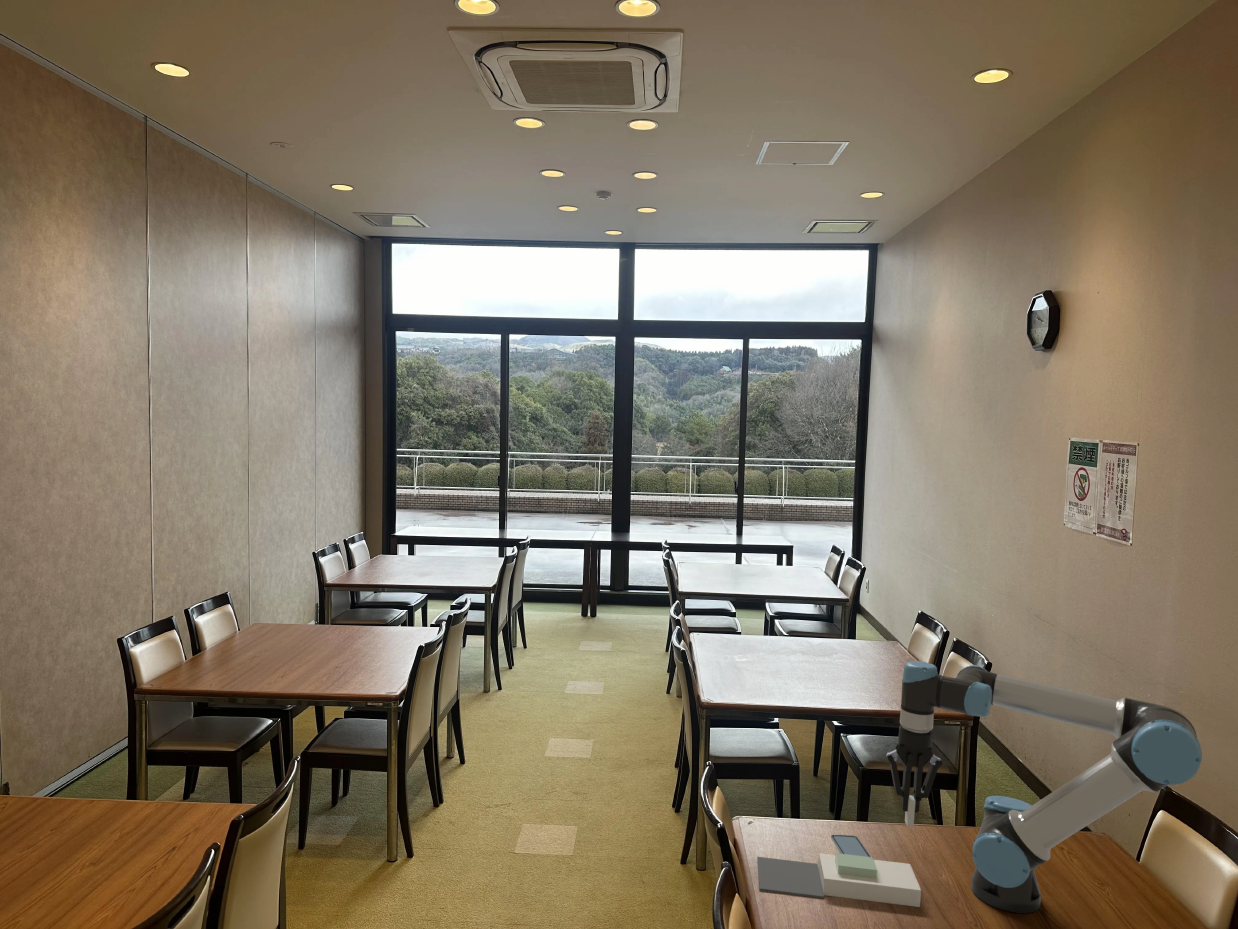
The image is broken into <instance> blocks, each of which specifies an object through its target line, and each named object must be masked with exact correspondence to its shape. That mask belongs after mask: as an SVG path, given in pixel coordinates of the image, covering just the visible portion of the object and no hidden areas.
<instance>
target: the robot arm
mask: <svg viewBox="0 0 1238 929" xmlns="http://www.w3.org/2000/svg"><path fill="white" fill-rule="evenodd" d="M902 675H903V676H902V680H901V699H900V700H901V703H900V711H899V712H900V715H899V724H900V725H899V726H898V727H899V728H898V739H897V744H896V746H895V749H894V750H893V751H886V752H885V756H886V758H887V761H888V762H889V765H890V771H891V776H892V777H891V778H892V783H893V789H894V791H895V794H896V795H897V796H901V809H902V811H903V812H904V814H905V815H904V822H905V825H906V827H908V828H914V826H915V813H919V812H920V805H921V804H920V802H921V801H922V799H928V798H929V796H930V793H931V790H932V787H933V784H934V782H935V779H936V776H937V772H938V770H939V769H940V768H941V767H942V765H943V761H942V759H941V757H940V756H937V755H935V754H934V751H933V748H932V747H933V744H932V743H933V731H932V730H933V729H934V716H935V715H934V714H935V708H938V709H943V710H947V711H950V712H951V711H952V712H954V713H955V712H957V713H961V714H965V715H968V716H971V717H981V718H986V717H988V716H989V715H990V712H991V708H992V706H996V707H1001V708H1004V709H1009V710H1013V711H1016V712H1021V713H1024V714H1029V715H1033V716H1037V717H1041V718H1044V719H1045V718H1046V719H1049V720H1052V721H1057V722H1061V723H1064V724H1065V723H1066V724H1070V725H1073V726H1078V727H1080V728H1081V727H1082V728H1085V729H1089V730H1092V731H1093V730H1094V731H1098V732H1103V733H1106V734H1109V735H1113V736H1114V738H1116V739H1115V740H1114V741H1112V742H1111V749H1110V751H1111V752H1110V754H1108V755H1106V756H1104V757H1103V758H1101V760H1099V761H1097V762H1096V763H1094V764H1093V765H1091V766H1090V767H1088V768H1086V769H1085V770H1084V771H1081V773H1079V774H1078V775H1076V776H1075V777H1073V778H1071V779H1070V780H1068V781H1066V783H1064V784H1063V785H1061V786H1060V787H1058V788H1057V789H1055V790H1053V791H1052V792H1050V793H1049V794H1048V795H1046V796H1044V797H1043V798H1042V799H1040V800H1038V801H1036V802H1035V803H1034V804H1033V805H1032V804H1030V803H1028V802H1026V801H1023V800H1020V799H1017V798H1014V797H1009V796H1003V795H990V796H988V797H986V798H985V801H984V805H983V809H984V810H983V811H984V812H983V819H982V823H981V825H980V828H979V830H978V833H977V835H976V837H975V838H974V841H973V843H972V860H973V863H974V865H975V869H974V872H973V874H972V877H971V884H970V885H971V886H970V887H971V891H972V893H973V894H974V895H975V896H976V897H977V898H978V899H979V900H981V901H982V902H984V903H986V904H987V905H990V906H991V907H994V908H997V909H999V910H1002V911H1006V912H1010V913H1017V914H1029V913H1033V912H1036V911H1038V910H1039V909H1040V908H1041V902H1042V901H1041V900H1042V896H1041V895H1042V894H1041V890H1040V887H1039V883H1038V879H1037V876H1036V872H1035V869H1037V868H1038V867H1040V866H1041V865H1043V864H1045V863H1046V862H1047V861H1049V860H1050V859H1051V850H1052V848H1054V847H1055V846H1057V845H1058V844H1060V843H1062V842H1063V841H1065V840H1067V839H1069V837H1071V836H1073V835H1075V834H1076V833H1078V832H1079V831H1081V830H1082V829H1084V828H1086V827H1087V826H1088V825H1090V824H1092V823H1094V822H1095V821H1096V820H1098V819H1100V818H1102V817H1103V816H1104V815H1106V814H1108V813H1110V812H1111V811H1112V810H1114V809H1115V808H1118V807H1119V806H1120V805H1122V804H1124V803H1125V802H1126V801H1128V800H1130V799H1131V798H1133V797H1135V796H1136V795H1138V794H1139V793H1141V792H1143V791H1145V792H1151V793H1158V792H1160V791H1161V790H1162V789H1164V788H1166V787H1167V786H1175V785H1181V784H1185V783H1187V782H1188V781H1191V779H1193V778H1194V777H1195V776H1196V775H1197V773H1198V771H1199V770H1200V768H1201V764H1202V757H1203V752H1202V747H1201V744H1200V742H1199V741H1200V740H1198V736H1197V735H1198V734H1197V732H1196V730H1195V727H1194V725H1193V724H1192V722H1191V721H1190V720H1189V719H1188V718H1187V717H1186V716H1185V715H1184V714H1183V713H1181V712H1180V711H1178V710H1176V709H1173V708H1171V707H1169V706H1165V705H1161V704H1156V703H1153V702H1152V703H1151V702H1148V701H1147V702H1145V701H1142V700H1137V699H1132V698H1128V697H1122V698H1120V699H1116V700H1115V699H1111V698H1106V697H1103V696H1099V695H1093V694H1088V693H1084V692H1079V691H1076V690H1072V689H1071V690H1070V689H1065V688H1061V687H1057V686H1053V685H1048V684H1045V683H1039V682H1035V681H1031V680H1026V679H1021V678H1017V677H1013V676H1008V675H1004V674H999V673H995V672H991V671H988V670H987V669H986V668H984V667H982V666H980V665H977V664H971V665H967V666H965V667H964V668H963V667H962V669H961V670H959V672H958V673H957V675H956V677H952V676H951V677H950V676H945V675H942V674H938V667H937V666H936V665H935V664H933V663H929V662H926V661H921V660H913V661H912V660H911V661H908V662H906V663H905V664H904V667H903V674H902ZM898 757H899V758H900V760H901V761H902V763H903V773H902V774H903V775H902V784H901V781H900V776H899V771H898V769H899V768H898V765H897V761H898ZM928 762H930V763H929V765H928V768H927V769H928V770H927V773H926V776H925V777H924V781H923V773H924V767H925V766H926V765H927V763H928ZM913 767H914V775H913V789H912V790H913V791H912V794H913V795H910V792H911V791H910V789H911V778H912V776H911V775H912V771H913ZM922 781H923V785H922ZM901 785H902V787H901Z"/></svg>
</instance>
